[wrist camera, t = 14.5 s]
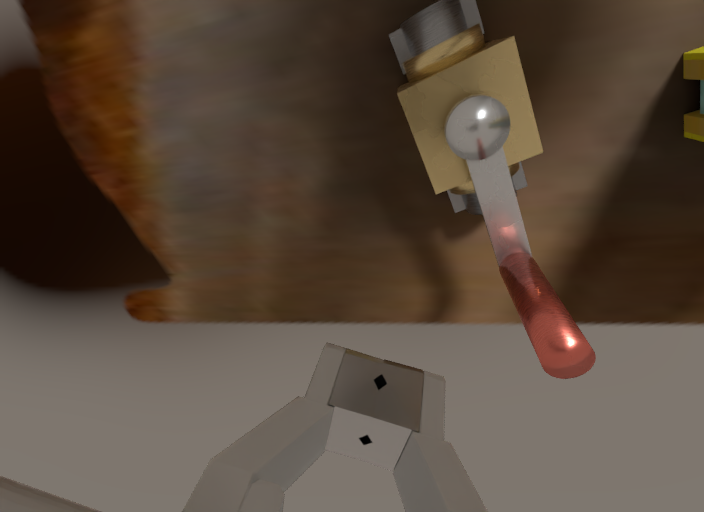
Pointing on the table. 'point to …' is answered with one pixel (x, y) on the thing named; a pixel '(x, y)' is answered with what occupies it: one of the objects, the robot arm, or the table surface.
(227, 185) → the table surface
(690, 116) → the book
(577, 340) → the lever
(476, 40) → the valve body
